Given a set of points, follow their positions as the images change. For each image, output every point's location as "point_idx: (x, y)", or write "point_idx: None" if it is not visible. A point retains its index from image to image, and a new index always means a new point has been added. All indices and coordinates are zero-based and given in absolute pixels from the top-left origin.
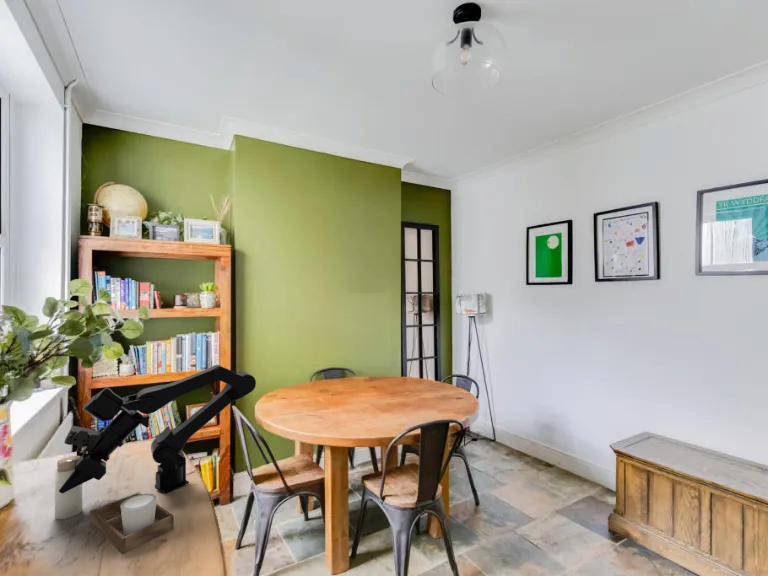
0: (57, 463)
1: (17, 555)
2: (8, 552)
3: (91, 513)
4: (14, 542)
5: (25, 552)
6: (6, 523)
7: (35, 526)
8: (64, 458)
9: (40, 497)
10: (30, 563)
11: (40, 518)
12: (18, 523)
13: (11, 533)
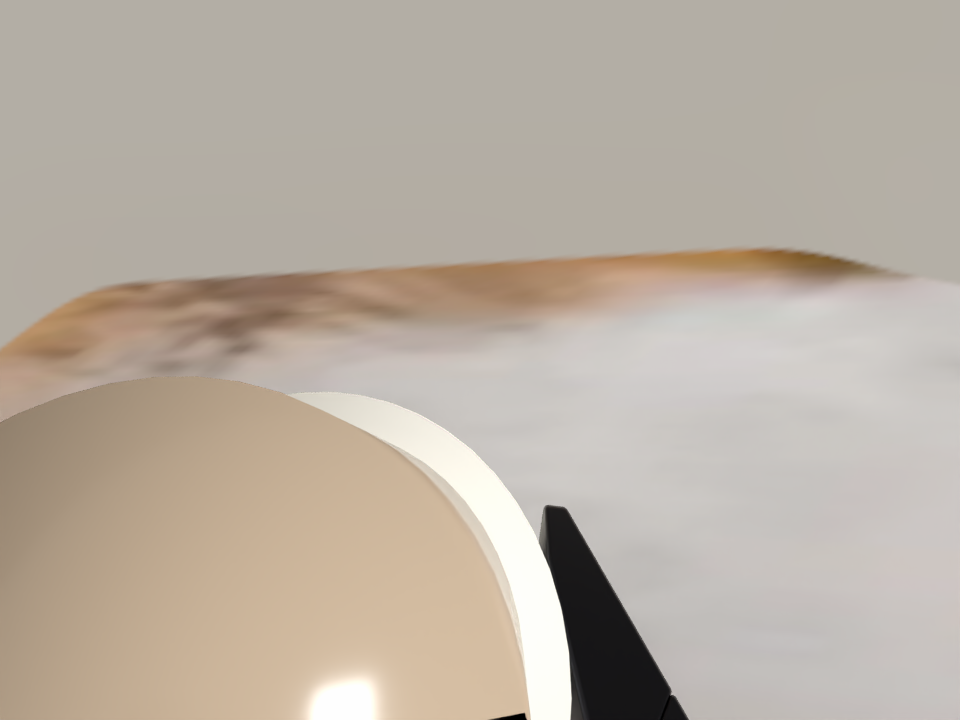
0: (138, 388)
1: (164, 313)
2: (229, 283)
3: None
4: (308, 298)
5: (159, 340)
6: (569, 258)
7: (412, 374)
8: (415, 644)
9: (862, 399)
10: (36, 359)
11: (502, 397)
12: (523, 304)
13: (423, 283)
